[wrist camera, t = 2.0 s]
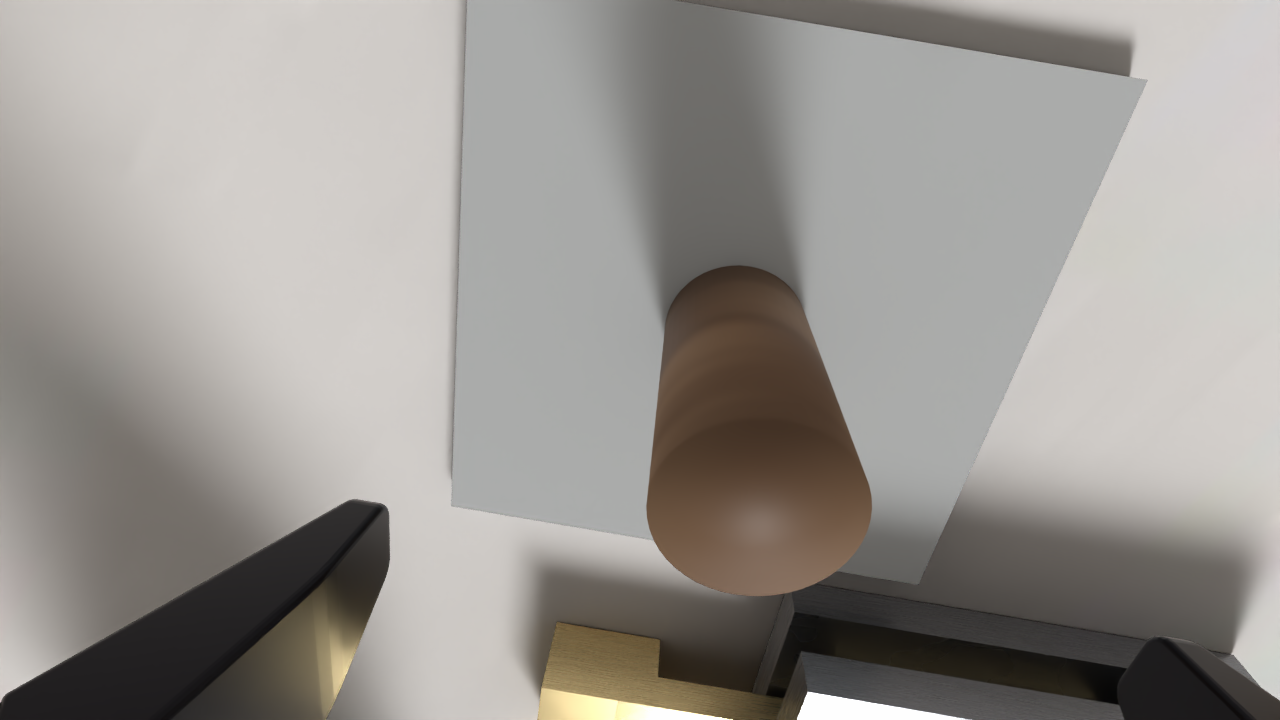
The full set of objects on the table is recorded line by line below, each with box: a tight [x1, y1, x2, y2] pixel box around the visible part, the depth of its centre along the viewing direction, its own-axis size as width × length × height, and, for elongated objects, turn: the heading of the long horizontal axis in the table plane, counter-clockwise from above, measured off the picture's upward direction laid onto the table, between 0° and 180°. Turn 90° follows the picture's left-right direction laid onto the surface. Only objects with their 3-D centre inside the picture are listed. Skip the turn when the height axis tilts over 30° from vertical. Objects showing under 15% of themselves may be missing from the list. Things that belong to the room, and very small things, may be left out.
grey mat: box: [451, 0, 1148, 585], centre depth 15 cm, size 12×12×1 cm
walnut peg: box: [646, 265, 872, 596], centre depth 12 cm, size 3×3×6 cm
